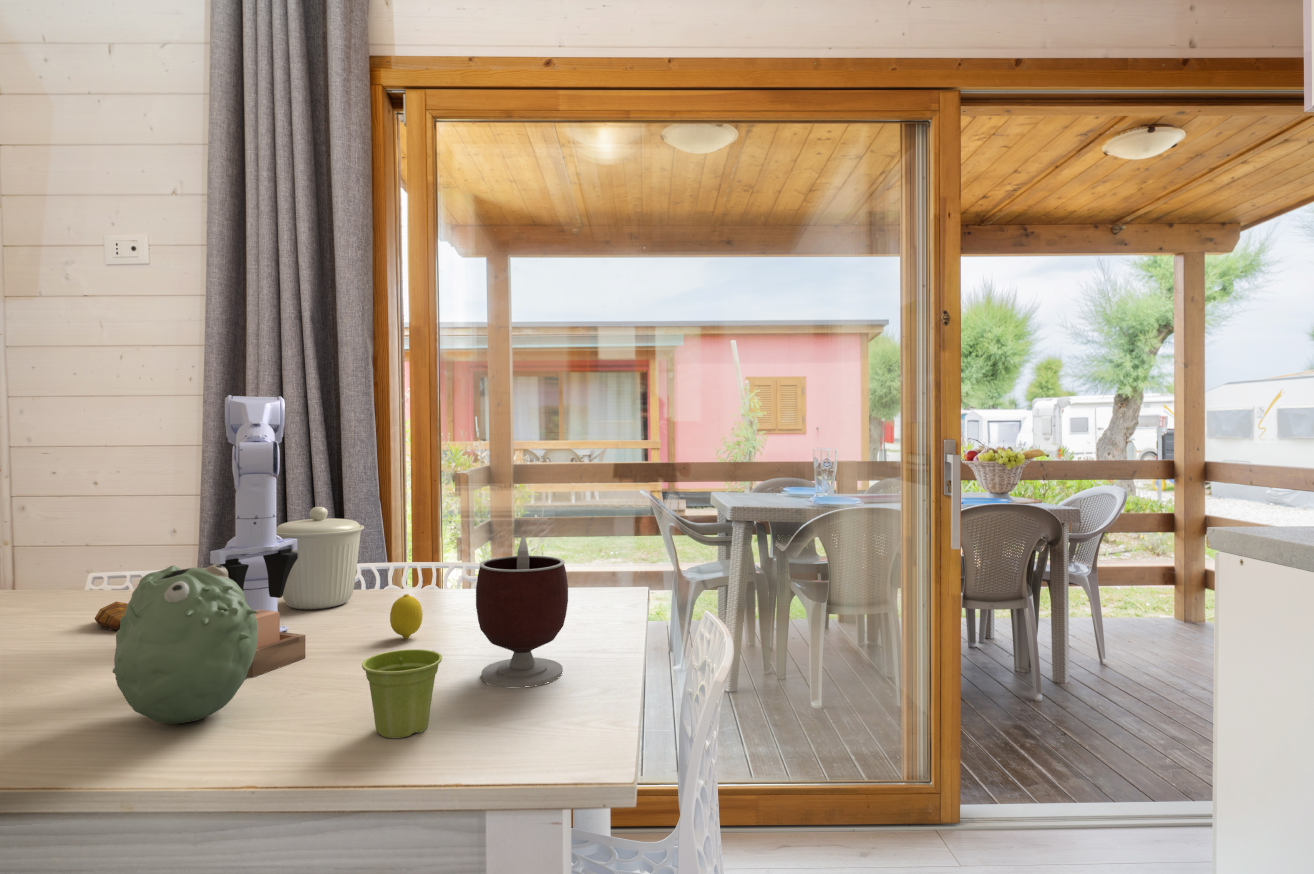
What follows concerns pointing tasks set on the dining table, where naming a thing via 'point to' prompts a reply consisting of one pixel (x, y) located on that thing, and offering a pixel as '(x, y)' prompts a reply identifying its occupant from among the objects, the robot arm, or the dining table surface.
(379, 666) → the plant pot
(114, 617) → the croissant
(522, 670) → the mate gourd
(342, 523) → the canister
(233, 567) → the robot arm
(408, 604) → the lemon
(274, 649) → the walnut base
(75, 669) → the dining table surface
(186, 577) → the green pufferfish toy
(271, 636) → the block
